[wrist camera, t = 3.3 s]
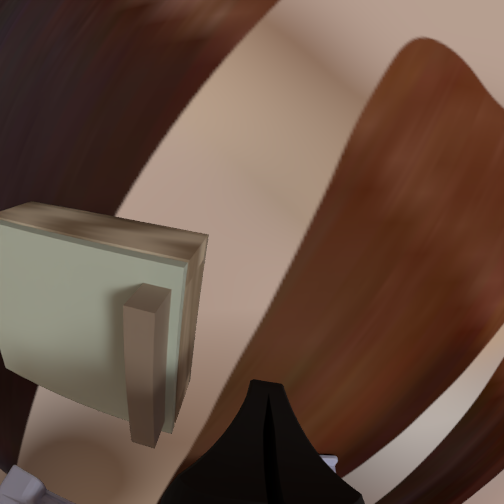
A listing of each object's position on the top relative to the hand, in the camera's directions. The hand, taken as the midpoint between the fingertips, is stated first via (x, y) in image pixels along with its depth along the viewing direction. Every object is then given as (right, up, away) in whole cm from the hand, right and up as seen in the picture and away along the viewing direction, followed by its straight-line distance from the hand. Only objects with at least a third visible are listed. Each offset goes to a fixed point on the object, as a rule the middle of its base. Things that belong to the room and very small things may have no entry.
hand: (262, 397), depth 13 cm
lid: (-10, +2, +1) cm, 10 cm away
